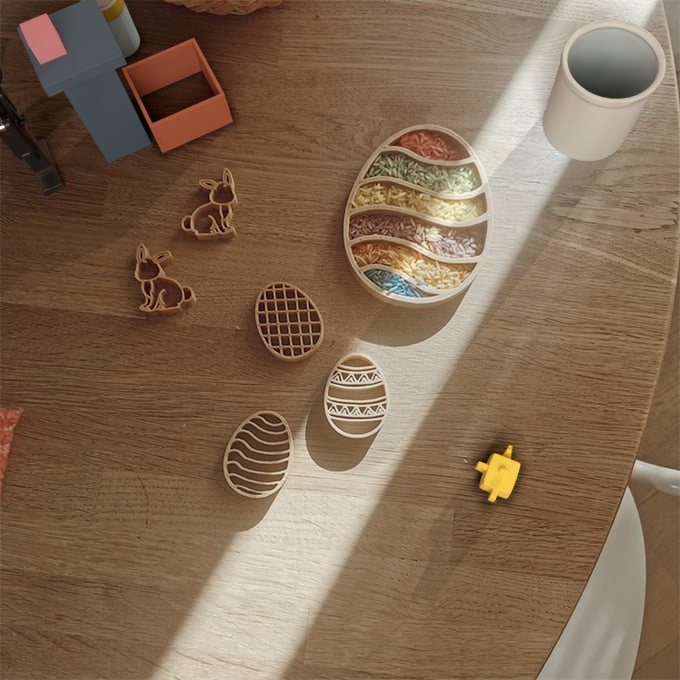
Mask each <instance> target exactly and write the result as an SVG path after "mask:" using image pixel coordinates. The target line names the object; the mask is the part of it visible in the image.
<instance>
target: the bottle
mask: <svg viewBox="0 0 680 680" xmlns="http://www.w3.org/2000/svg"><path fill="white" fill-rule="evenodd" d="M81 1H84V0H79V2H81ZM96 1H97V3H98V5H99V8H100V10H101V12H102V14H103V16H104V18H105V20H106V22H107V24H108V26H109V28H110V30H111V32H112V34H113V36H114V38H115V40H116V42H117V44H118V46H119V48H120V50H121V52H122V54H123V56H124V59H126V58H128V57H131V56H132V55H133V54H134V53H136V52H137V50H138V49H139V47H140V43H141V38H140V35H139V32H138V30H137V28H136V26H135V23H134V21H133V19H132V16H131V14H130V12H129V10H128V7H127V5H126V2H125V0H96Z"/></svg>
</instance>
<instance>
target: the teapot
mask: <svg viewBox="0 0 680 680" xmlns="http://www.w3.org/2000/svg"><path fill="white" fill-rule="evenodd" d="M513 447H514V446H512V445H510V444H509V445H508V446H507V448H506V449H505V451H504V452H503V454H502V455H501V454H498V453H495V452H494V453H492V454H491V455H490V456H489V458H488V460H487V461H486V463H485V462H482V461H478V462H477V463H476V464H475V467H474V469H475V470H477V471H478V472H480V473H482V474H481V478H480V480H479V485H478V487H479V489H481V490H483V491H486V492H488V493H489V495H488V497H487V501H489V502H491V503H495V501H496V500H497V497H500V498H502V499H508V498H509V497H510V495H511V493H512V491H513V489H514V487H515V485H516V482H517V478H518V475H519V471H520V468H521V462H519V461H517V460H513V459H512V453H513Z"/></svg>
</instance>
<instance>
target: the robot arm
mask: <svg viewBox="0 0 680 680" xmlns="http://www.w3.org/2000/svg"><path fill="white" fill-rule="evenodd" d="M3 77H4V76H3V70H2V68H1V66H0V139H1V140H2V142H3V143H4V144H5V145H6V146H7V147H8V148H9V149H10V150H11V153H12V155H13V156H14V157H16V158H17V159H18V160H19V161H22V160H24V161H25V162H26V164H27V165H28V166H29V167H30V169H31V170H32V171H33V173H34V172H35V173H37V172H39V171H41V170H44V169H46V168H48V167H51V166H50V164H49V162H48V161H47V160H46V158H45V157H44V156H43V154H42V153H41V152H40V150H39V149H38V148H37V147H36V145H35V144H34V143H33V141H32V140H31V141H30V140H29V139H28V137H27V136H26V135H25V133H24V132H23V130H22V129H21V128H20V127H22V126H24V125H25V126H26V127H27V128H28V130H29V131H30V132H31V134H32V135H33V136H34V138H35V139H36V140H37V142H38V141H39V140H38V139H37V137H36V136H35V135H34V134H33V132H32V131H31V129H30V128H29V127H28V126H27V124H26V123H25V122H27V121H28V118H27V116H26V114H25V113H22V114H19V113H18V107H17V106H16V105H15V104H14V102H13V101H12V99H11V98H10V97H9V96H8V94H7V93H6V91H5V89H4V88H3V87H2V82H3ZM38 143H39V142H38ZM39 144H40V143H39ZM40 146H41V145H40ZM41 147H42V146H41ZM42 148H43V147H42ZM35 173H34V174H35Z"/></svg>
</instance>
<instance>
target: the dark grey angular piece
mask: <svg viewBox="0 0 680 680" xmlns="http://www.w3.org/2000/svg"><path fill="white" fill-rule="evenodd" d="M25 125H26V124H25ZM25 125H24V126H22V127H20V128H21V129H22V130H23V132H24V133H25V135H26V136H27V137H28V139H29V140H30V141H31V140H32V141H33V143H34V144H35V145H36V147H37V148H38V149H39V150H40V152H41V153H42V154H43V156H44V157H45V158H46V160H47V161H48V162H49V164H50V166H51V167H48V168H46V169H44V170H41V171H39V172H37V173H35V172H34V171H33V173H34V175H35V178H36V180H37V183H38V185H39V188H40V190H41V192H42V194H43V195H44V196H45V197H47V196H50V195H52V194H54V193H56V192H58V191H61V190H63V189H65V188H66V186H65V184H64V181H63V179H62V177H61V175H60V172H59V169H58V167H57V164H56V162H55V160H54V157H53V156H52V153H51V150H50V148H49V146H48V144H47V141H45V139H44V138H42V139H39V140H38V139H37V138H36V137H35V135H34V134H33V133H32V131H31V130H30V129H29V127H28V126H27V125H26V126H27V127H28V128H27V127H26V126H25ZM28 129H29V130H30V131H31V132H30V131H29V130H28ZM31 133H32V134H33V135H34V136H33V135H32V134H31ZM34 137H35V138H36V139H37V140H36V139H35V138H34ZM37 141H38V142H39V143H40V144H39V143H38V142H37ZM40 145H41V146H42V147H43V148H42V147H41V146H40Z"/></svg>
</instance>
